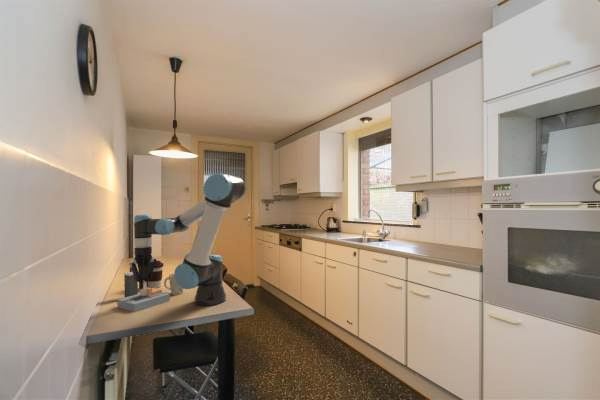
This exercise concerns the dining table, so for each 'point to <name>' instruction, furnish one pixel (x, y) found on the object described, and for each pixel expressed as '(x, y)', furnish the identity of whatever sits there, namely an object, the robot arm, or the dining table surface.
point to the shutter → (153, 291)
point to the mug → (173, 285)
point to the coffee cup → (156, 275)
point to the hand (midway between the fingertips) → (143, 294)
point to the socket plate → (142, 301)
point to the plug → (130, 284)
